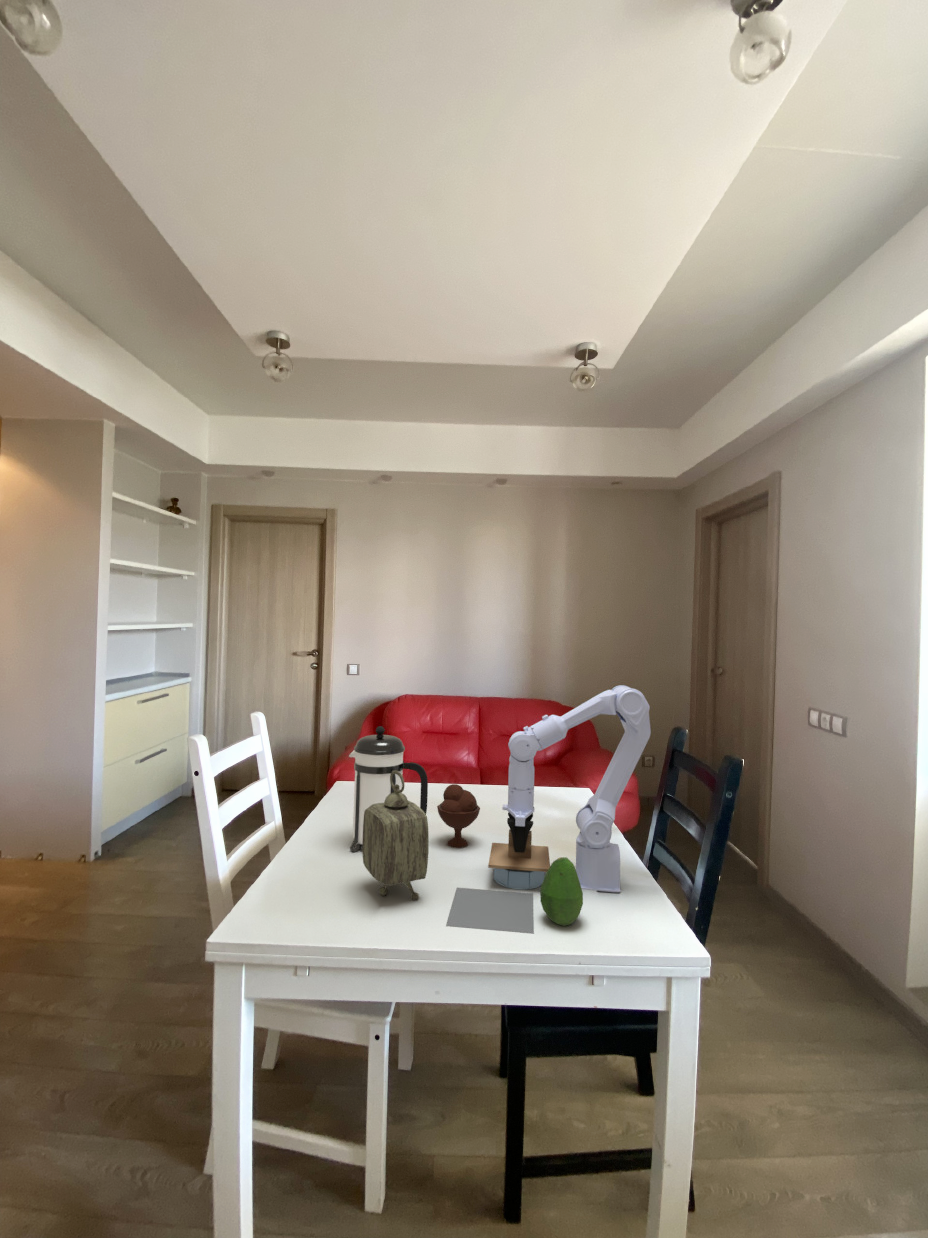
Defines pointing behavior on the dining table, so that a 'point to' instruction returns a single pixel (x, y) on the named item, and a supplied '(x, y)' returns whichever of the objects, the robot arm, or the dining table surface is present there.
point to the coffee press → (379, 776)
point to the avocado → (561, 892)
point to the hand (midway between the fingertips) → (519, 848)
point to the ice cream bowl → (458, 812)
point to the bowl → (519, 878)
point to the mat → (492, 910)
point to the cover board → (519, 862)
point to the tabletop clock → (396, 840)
